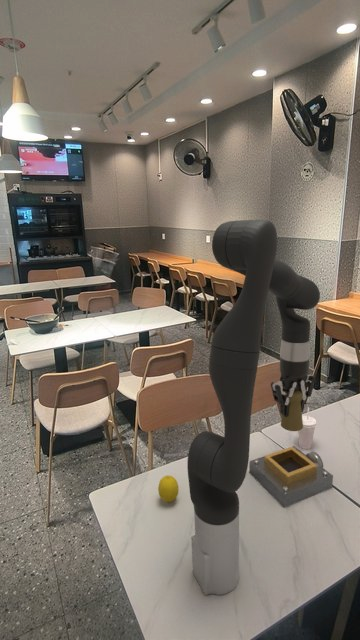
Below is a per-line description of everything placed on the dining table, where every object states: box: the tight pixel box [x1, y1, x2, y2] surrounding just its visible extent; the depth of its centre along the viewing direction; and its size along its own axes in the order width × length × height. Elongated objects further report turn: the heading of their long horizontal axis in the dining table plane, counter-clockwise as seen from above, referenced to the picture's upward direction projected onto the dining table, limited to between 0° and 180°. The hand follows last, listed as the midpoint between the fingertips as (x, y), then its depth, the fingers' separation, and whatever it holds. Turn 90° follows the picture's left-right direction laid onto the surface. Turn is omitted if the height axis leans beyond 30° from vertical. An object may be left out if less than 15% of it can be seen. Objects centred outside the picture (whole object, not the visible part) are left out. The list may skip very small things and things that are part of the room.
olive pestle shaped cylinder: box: [280, 390, 303, 432], centre depth 102 cm, size 6×6×11 cm
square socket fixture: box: [248, 445, 334, 509], centre depth 107 cm, size 19×16×6 cm
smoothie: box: [297, 407, 317, 450], centre depth 122 cm, size 6×6×14 cm
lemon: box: [157, 474, 179, 503], centre depth 100 cm, size 6×6×8 cm
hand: (292, 413), depth 102 cm, fingers closed on olive pestle shaped cylinder, 4 cm apart
